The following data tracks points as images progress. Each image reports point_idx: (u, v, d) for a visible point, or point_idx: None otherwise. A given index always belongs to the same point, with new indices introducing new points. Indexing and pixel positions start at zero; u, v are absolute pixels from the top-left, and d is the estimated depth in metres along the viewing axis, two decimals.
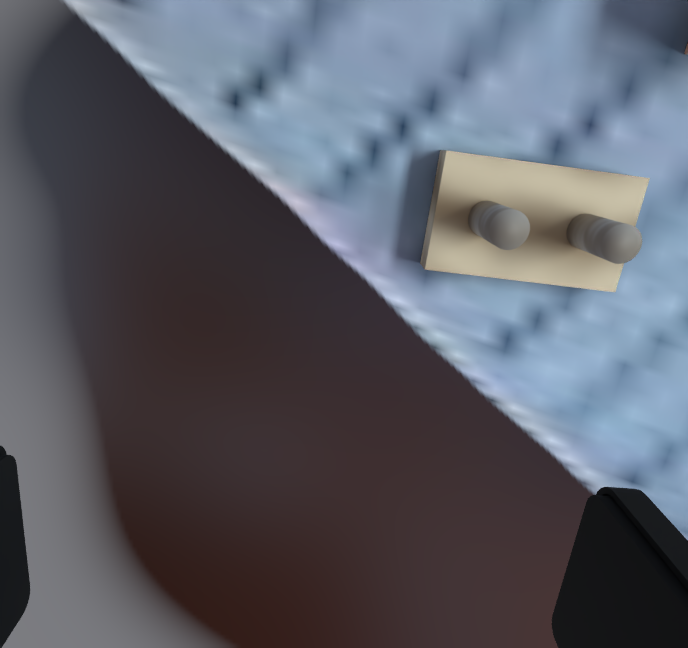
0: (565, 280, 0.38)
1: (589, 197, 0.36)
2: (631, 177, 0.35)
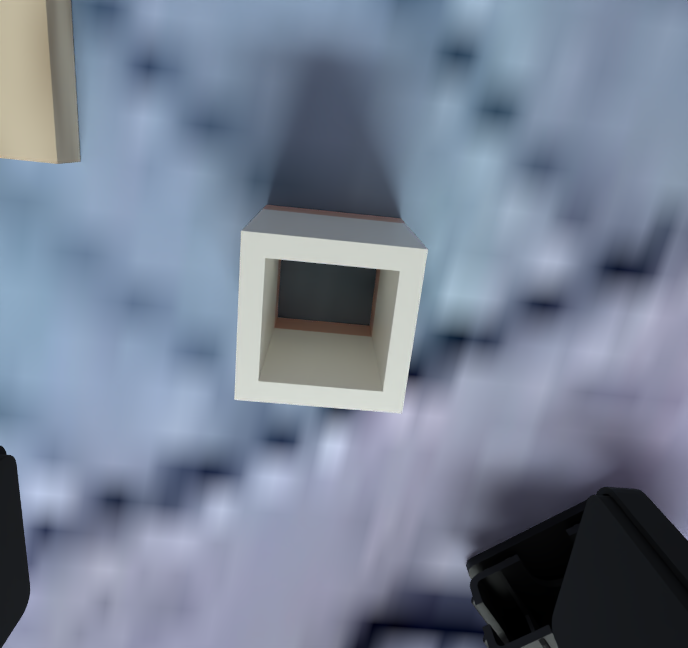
0: None
1: (1, 52, 0.19)
2: (51, 129, 0.20)
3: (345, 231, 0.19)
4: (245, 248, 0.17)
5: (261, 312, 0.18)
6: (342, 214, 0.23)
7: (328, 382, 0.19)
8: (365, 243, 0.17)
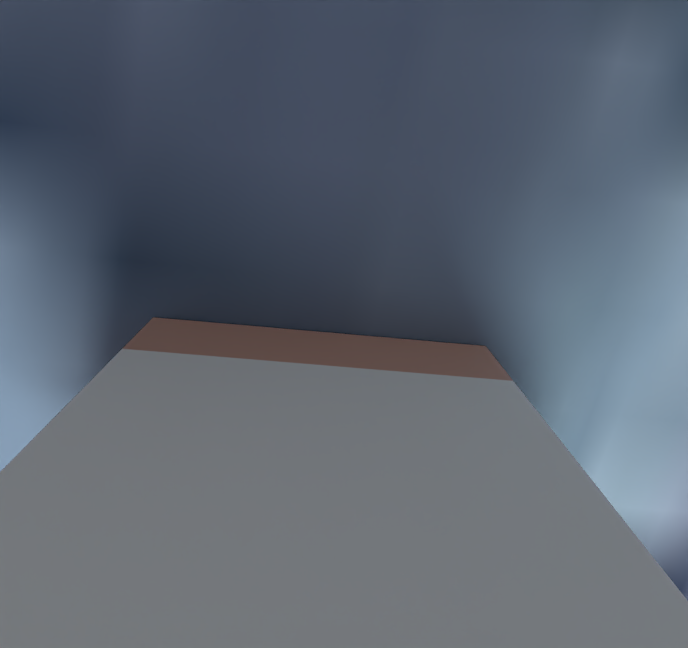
0: None
1: None
2: None
3: (362, 533, 0.05)
4: None
5: None
6: (343, 347, 0.09)
7: None
8: None
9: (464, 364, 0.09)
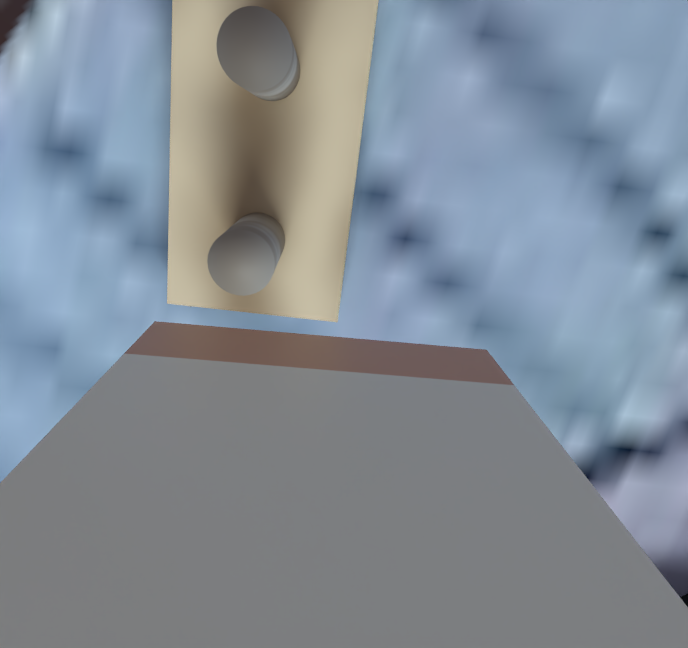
0: (178, 222, 0.23)
1: (309, 240, 0.24)
2: (338, 296, 0.25)
3: (364, 540, 0.05)
4: None
5: None
6: (345, 352, 0.09)
7: None
8: None
9: (465, 368, 0.09)
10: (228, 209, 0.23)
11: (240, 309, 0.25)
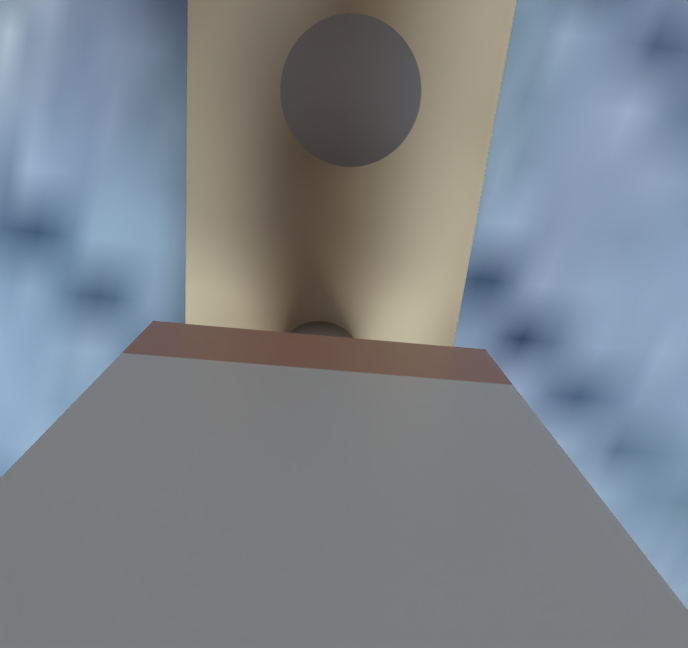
0: None
1: None
2: None
3: (361, 539, 0.05)
4: None
5: None
6: (343, 351, 0.09)
7: None
8: None
9: (463, 368, 0.09)
10: (274, 318, 0.15)
11: None
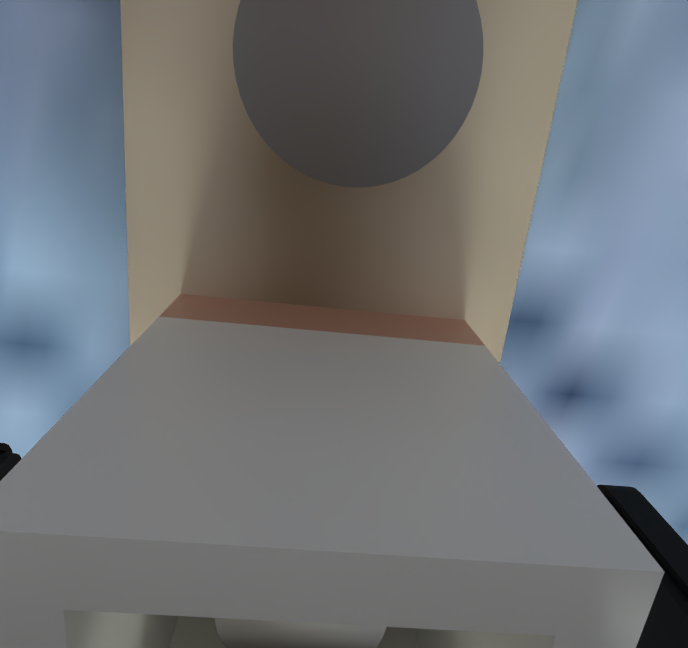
0: None
1: None
2: None
3: (357, 437, 0.06)
4: None
5: None
6: (343, 319, 0.10)
7: None
8: (438, 556, 0.05)
9: (445, 333, 0.10)
10: None
11: None
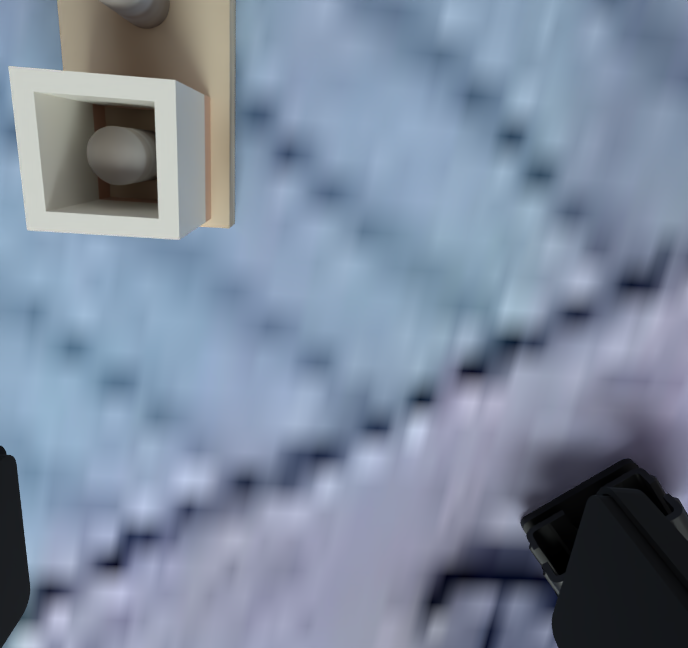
0: None
1: None
2: (227, 204, 0.28)
3: None
4: (15, 83, 0.20)
5: (38, 144, 0.20)
6: None
7: (112, 214, 0.22)
8: (120, 75, 0.20)
9: None
10: None
11: None
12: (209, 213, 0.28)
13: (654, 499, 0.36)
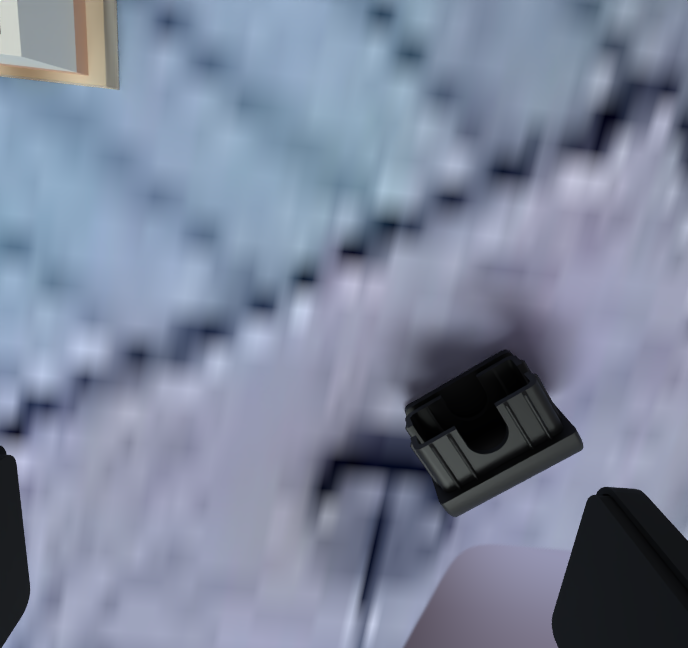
0: None
1: None
2: (103, 61, 0.30)
3: None
4: None
5: None
6: None
7: None
8: None
9: None
10: None
11: (23, 75, 0.30)
12: (84, 68, 0.29)
13: None
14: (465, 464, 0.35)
